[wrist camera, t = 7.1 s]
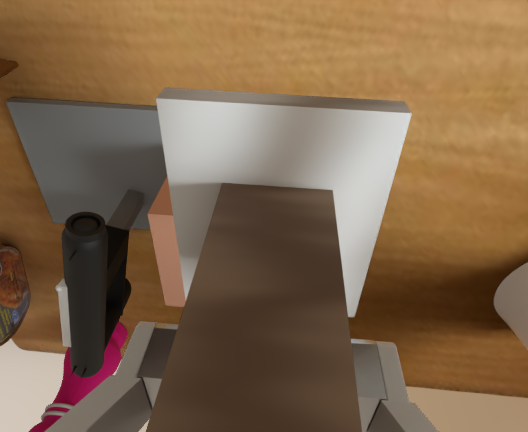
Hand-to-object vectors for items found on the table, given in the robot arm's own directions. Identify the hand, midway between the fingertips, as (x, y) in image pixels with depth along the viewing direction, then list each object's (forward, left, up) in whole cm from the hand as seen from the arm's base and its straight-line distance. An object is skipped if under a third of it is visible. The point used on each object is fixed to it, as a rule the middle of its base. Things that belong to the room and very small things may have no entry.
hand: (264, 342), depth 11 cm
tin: (+34, +28, -27) cm, 51 cm away
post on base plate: (0, 0, -6) cm, 6 cm away
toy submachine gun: (+16, +17, -27) cm, 35 cm away
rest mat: (+18, +11, -26) cm, 34 cm away
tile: (+8, +12, -26) cm, 30 cm away
